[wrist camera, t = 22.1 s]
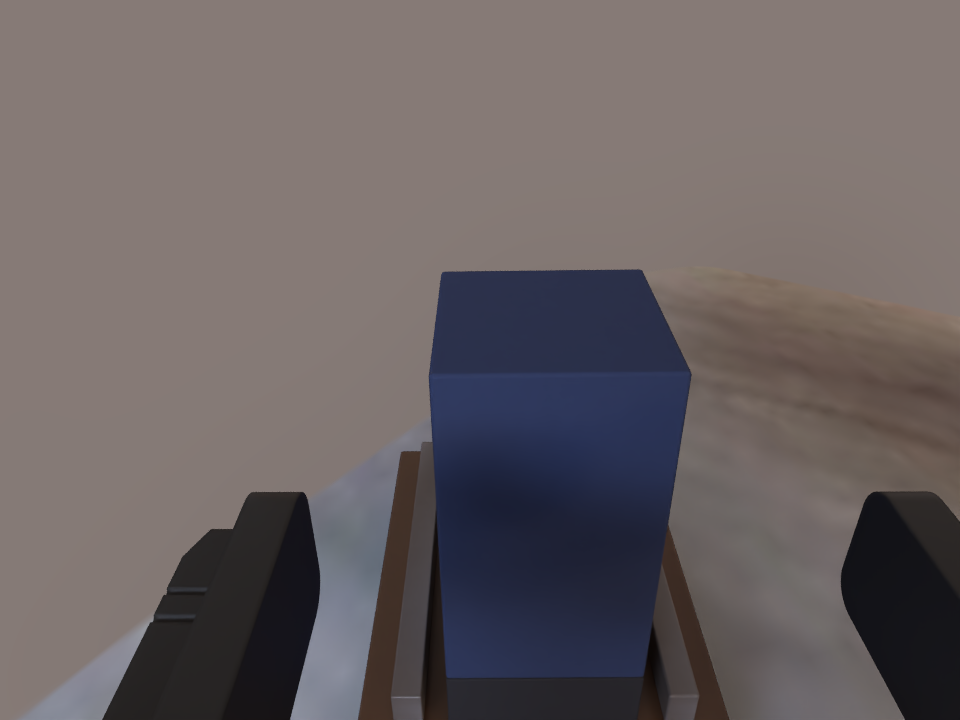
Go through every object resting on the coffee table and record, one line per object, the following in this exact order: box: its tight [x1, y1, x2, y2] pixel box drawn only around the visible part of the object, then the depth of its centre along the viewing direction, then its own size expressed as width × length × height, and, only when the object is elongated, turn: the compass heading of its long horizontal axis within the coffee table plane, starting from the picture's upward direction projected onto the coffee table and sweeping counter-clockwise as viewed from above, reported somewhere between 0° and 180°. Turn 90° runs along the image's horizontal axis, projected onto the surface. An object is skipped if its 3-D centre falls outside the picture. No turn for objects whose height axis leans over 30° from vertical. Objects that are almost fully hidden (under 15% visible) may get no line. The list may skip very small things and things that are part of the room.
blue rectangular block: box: [429, 270, 692, 720], centre depth 21 cm, size 11×5×11 cm, turn 0°
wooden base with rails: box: [358, 442, 729, 720], centre depth 24 cm, size 10×13×4 cm
